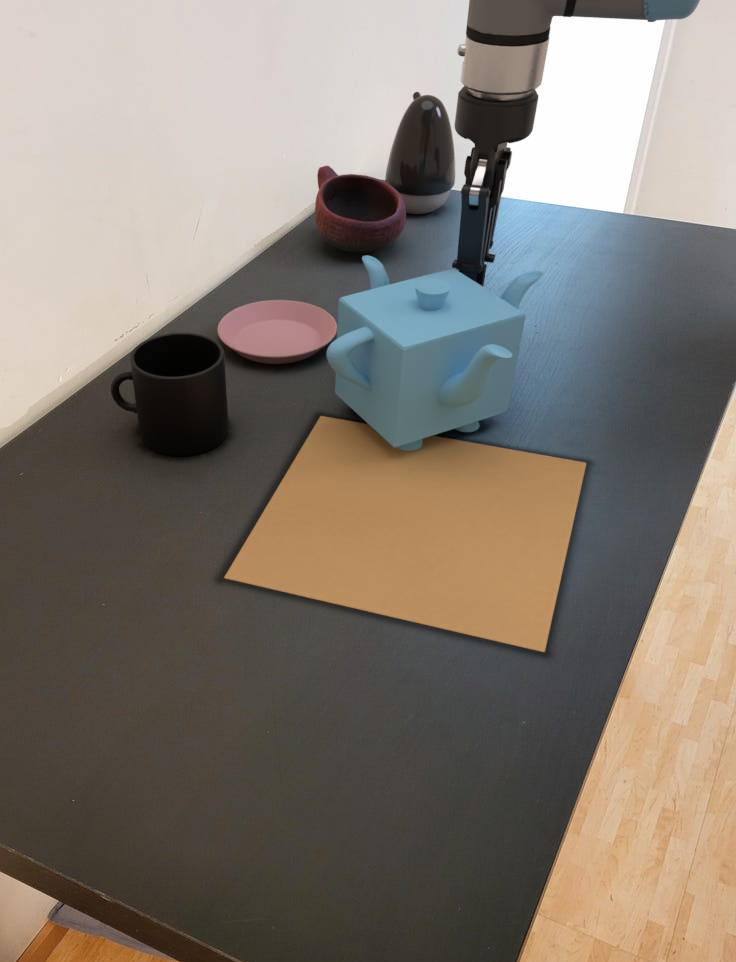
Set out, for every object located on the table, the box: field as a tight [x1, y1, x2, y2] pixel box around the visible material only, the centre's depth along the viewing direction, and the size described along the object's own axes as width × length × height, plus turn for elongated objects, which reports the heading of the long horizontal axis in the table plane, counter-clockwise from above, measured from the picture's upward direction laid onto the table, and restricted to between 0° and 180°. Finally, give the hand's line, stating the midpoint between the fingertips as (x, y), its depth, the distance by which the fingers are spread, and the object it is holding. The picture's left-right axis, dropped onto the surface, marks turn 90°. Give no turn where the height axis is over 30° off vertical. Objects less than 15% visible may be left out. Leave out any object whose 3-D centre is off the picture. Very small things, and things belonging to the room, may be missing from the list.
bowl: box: [314, 165, 407, 254], centre depth 130 cm, size 16×13×8 cm
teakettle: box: [326, 254, 544, 451], centre depth 95 cm, size 19×19×15 cm
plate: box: [217, 299, 338, 365], centre depth 112 cm, size 14×14×2 cm
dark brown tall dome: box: [384, 91, 456, 215], centre depth 136 cm, size 10×10×15 cm
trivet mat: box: [223, 415, 587, 654], centre depth 88 cm, size 28×28×1 cm
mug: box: [110, 332, 229, 457], centre depth 97 cm, size 9×12×9 cm
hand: (464, 321), depth 106 cm, fingers closed
